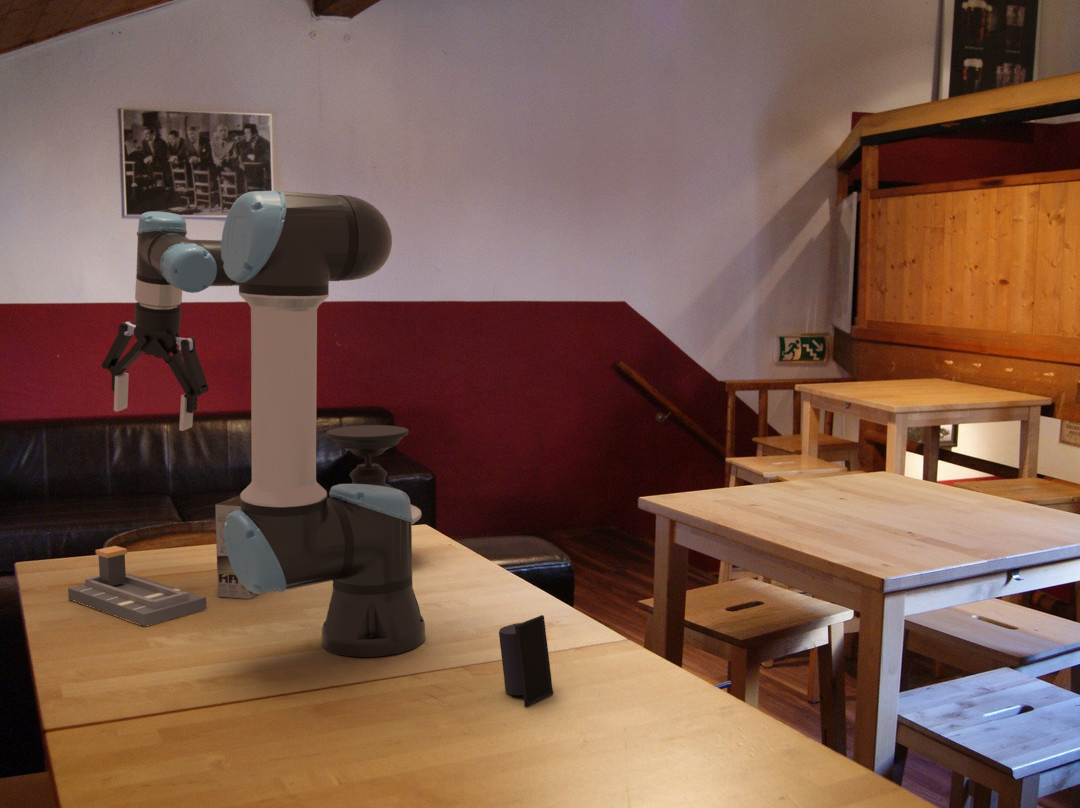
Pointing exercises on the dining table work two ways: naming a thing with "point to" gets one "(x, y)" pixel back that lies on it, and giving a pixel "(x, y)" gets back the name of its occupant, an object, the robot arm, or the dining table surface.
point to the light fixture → (370, 452)
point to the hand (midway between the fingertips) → (152, 418)
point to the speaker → (526, 660)
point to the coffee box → (225, 573)
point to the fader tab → (112, 565)
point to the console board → (138, 599)
